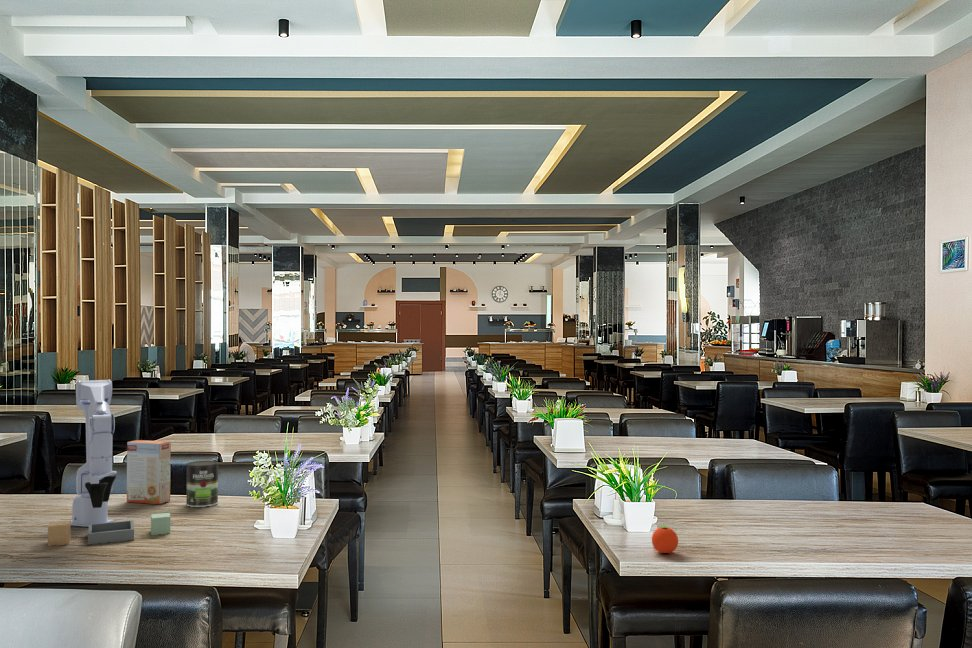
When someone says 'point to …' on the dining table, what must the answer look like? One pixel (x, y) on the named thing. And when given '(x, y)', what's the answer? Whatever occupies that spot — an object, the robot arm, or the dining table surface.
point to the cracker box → (148, 471)
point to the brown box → (59, 532)
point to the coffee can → (202, 483)
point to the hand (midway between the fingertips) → (100, 504)
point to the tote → (111, 532)
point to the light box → (160, 523)
